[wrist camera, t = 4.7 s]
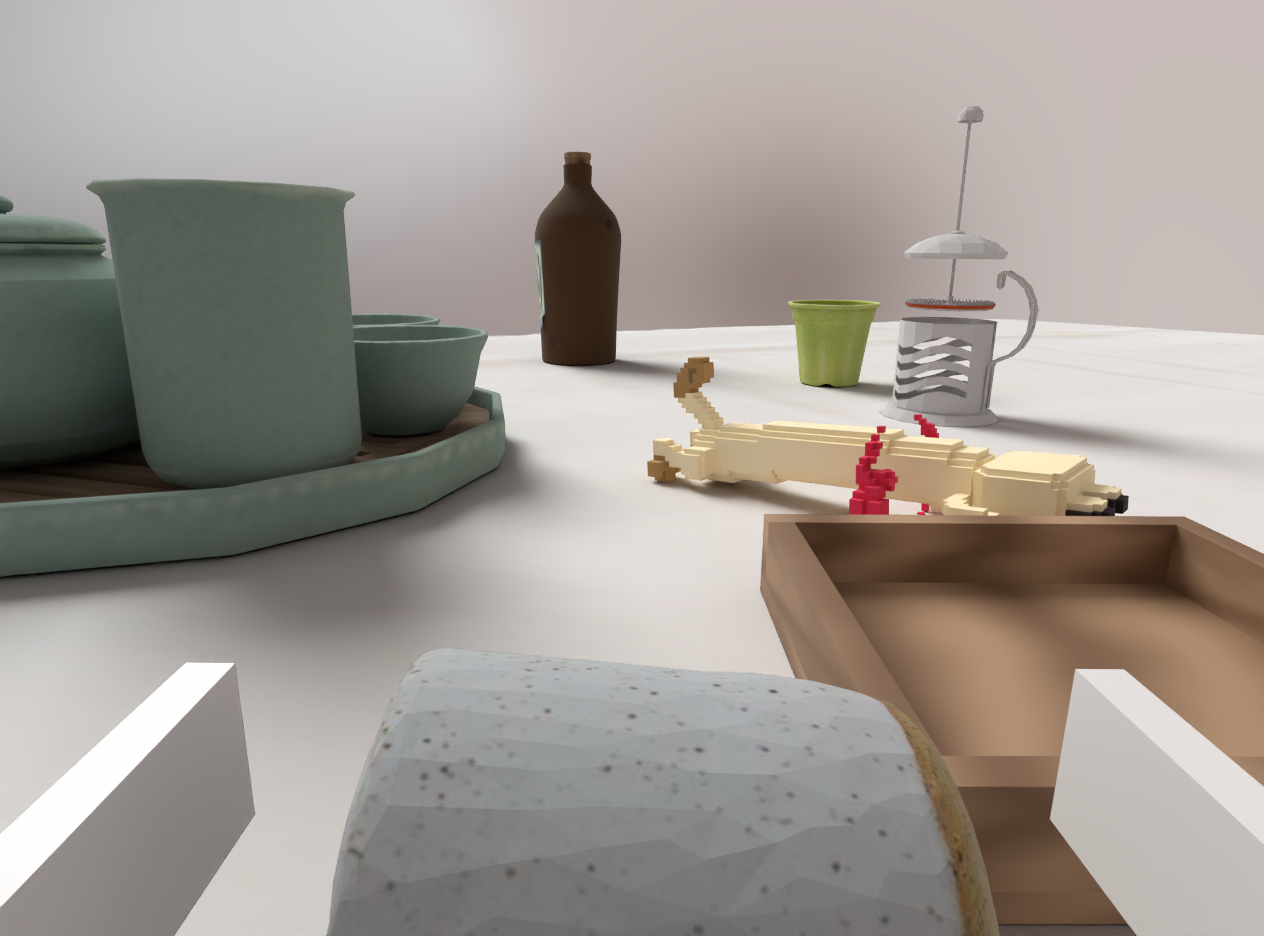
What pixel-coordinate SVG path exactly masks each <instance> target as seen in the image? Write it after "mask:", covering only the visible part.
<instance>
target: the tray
mask: <svg viewBox="0 0 1264 936" xmlns="http://www.w3.org/2000/svg"><path fill="white" fill-rule="evenodd" d="M760 591H761V593H762V596H763V598H764V601H765V603H766V606H767V608H768V611H769V613H770V616H771V618H772V621H773V623H774V626H775V628H776V630H777V633H778V635H779V638H780V640H781V643H782V645H783V648H784V650H785V653H786V655H787V658H788V660H789V663H790V665H791V668H792V670H793V673H794V675H795V678H796V679H803V680H810V681H816V682H819V683H823V684H827V685H831V686H835V687H839V688H843V689H847V690H851V691H855V692H858V693H861V694H864V695H868V696H870V697H873V698H876V699H879V700H882V701H884V702H887V703H890V704H893V705H894V706H895V707H897V708H898V709H899V710H900V711H901V712H902V713H904V714H905V715H906V716H907V717H908V718H910V719H911V720H912V721H913V722H914V723H915V724H916V726H917V727H918V728H919V729H920V731H921V732H922V733H923V735H924V736H925V737H926V738H927V740H928V741H929V742H930V743H931V745H932V746H933V747H934V749H935V750H936V751H937V752H938V754H939V755H940V756H941V758H942V759H943V760H944V761H945V764H946V766H947V768H948V770H949V772H950V774H951V776H952V778H953V780H954V782H955V784H956V786H957V788H958V790H959V793H960V795H961V798H962V800H963V802H964V805H965V807H966V810H967V812H968V814H969V817H970V819H971V822H972V825H973V828H974V831H975V834H976V838H977V841H978V844H979V848H980V851H981V854H982V858H983V861H984V864H985V868H986V872H987V876H988V881H989V886H990V890H991V895H992V899H993V904H994V908H995V913H996V918H997V922H998V924H1128V923H1127V922H1126V921H1125V919H1124V918H1123V917H1122V915H1121V914H1120V913H1119V911H1118V910H1117V909H1116V907H1115V906H1114V904H1113V903H1112V902H1111V900H1110V899H1109V898H1108V896H1107V895H1106V894H1105V892H1104V891H1103V890H1102V888H1101V887H1100V886H1099V884H1098V883H1097V882H1096V880H1095V879H1094V878H1093V876H1092V875H1091V874H1090V872H1089V871H1088V870H1087V868H1086V867H1085V866H1084V864H1083V863H1082V862H1081V860H1080V859H1079V857H1078V856H1077V855H1076V853H1075V852H1074V851H1073V849H1072V848H1071V847H1070V845H1069V844H1068V843H1067V841H1066V840H1065V839H1064V837H1063V836H1062V835H1061V833H1060V832H1059V831H1058V829H1057V828H1056V827H1055V825H1054V824H1053V823H1052V821H1051V820H1050V815H1051V809H1052V803H1053V797H1054V792H1055V786H1056V780H1057V774H1058V768H1059V762H1060V756H1061V750H1062V745H1063V739H1064V733H1065V727H1066V721H1067V715H1068V709H1069V704H1070V698H1071V692H1072V686H1073V680H1074V674H1075V669H1124V670H1125V671H1127V672H1128V673H1129V674H1130V675H1131V676H1133V677H1134V678H1135V679H1136V680H1137V681H1139V682H1140V683H1141V684H1142V685H1143V686H1144V687H1146V688H1147V689H1148V690H1149V691H1150V692H1152V693H1153V694H1154V695H1155V696H1156V697H1158V698H1159V699H1160V700H1161V701H1162V702H1164V703H1165V704H1166V705H1167V706H1168V707H1169V708H1171V709H1172V710H1173V711H1174V712H1175V713H1177V714H1178V715H1179V716H1180V717H1181V718H1183V719H1184V720H1185V721H1186V722H1187V723H1189V724H1190V725H1191V726H1192V727H1193V728H1194V729H1196V730H1197V731H1198V732H1199V733H1200V734H1202V735H1203V736H1204V737H1205V738H1206V739H1208V740H1209V741H1210V742H1211V743H1212V744H1214V745H1215V746H1216V747H1217V748H1218V749H1220V750H1221V751H1222V752H1223V753H1224V754H1225V755H1227V756H1228V757H1229V758H1230V759H1231V760H1233V761H1234V762H1235V763H1236V764H1237V765H1239V766H1240V767H1241V768H1242V769H1243V770H1245V771H1246V772H1247V773H1248V774H1249V775H1250V776H1252V777H1253V778H1254V779H1255V780H1256V781H1258V782H1259V783H1260V784H1261V785H1262V786H1264V554H1263V553H1260V552H1258V551H1256V550H1254V549H1252V548H1250V547H1248V546H1246V545H1243V544H1241V543H1239V542H1237V541H1235V540H1233V539H1231V538H1229V537H1226V536H1224V535H1222V534H1220V533H1218V532H1216V531H1214V530H1212V529H1209V528H1207V527H1205V526H1203V525H1201V524H1199V523H1197V522H1194V521H1192V520H1190V519H1188V518H1186V517H1144V516H987V515H829V514H764V531H763V549H762V567H761V585H760Z"/></svg>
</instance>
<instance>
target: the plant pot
mask: <svg viewBox="0 0 1264 936" xmlns="http://www.w3.org/2000/svg"><path fill="white" fill-rule="evenodd" d="M788 303H789V306H792V313H793V319H794V320H795V325H796V336H797V347H798V360H799V373H800V381H801V382H802V383H804V384H809V385H812V386H821V385H822V384H830V385H832V386H834V387H843V386H853V385H855V384H857V382H858V380H859V376H860V371H861V366H862V361H863V356H864V351H865V347H866V342H867V338H868V333H869V329H870V325H871V322H872V321H873V319H874V316H875V312H876V308H877V307H880V303H878V302H870V301H853V300H852V301H850V300H801V301H800V300H799V301H790V302H788Z"/></svg>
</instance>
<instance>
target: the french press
mask: <svg viewBox="0 0 1264 936" xmlns="http://www.w3.org/2000/svg"><path fill="white" fill-rule="evenodd" d="M982 120H983V111H982V109H981V108H980V107H978V106H968V107H966V108H964V109H963V110H962V111H961V112H959V116H958V122H959V123H968V131H967V140H966V148H965V157H964V167H963V175H962V185H961V193H960V203H959V211H958V220H957V229H956V231H953V232H951V233H950V234H945V235H941V236H936V237H931V238H929V239H926V240H924V241H921V242H919V243H917V244H915V245H914V246H913V247H911V248H910V249H908V250H907V251H905V252H904V255H905V257H906V258H927V259H928V258H929V259H953V265H952V274H951V284H950V293H949V296H948V297H947V299H946V301H944V299H942V300H940V299H938V301H937V299H934V300H933V299H932V298H931V299H910V300H907V301H906V302H905V303H906V305H907V306H908V307H910V308H915V309H924V310H942V311H987V310H991V309H993V308H994V306H995V303H994V302H991V301H980V302H979V301H978V300H976V302H975V300H973V302H971V300H969V302H967V300H966V301H965V302H964V301H963V299H962V301H960V300H958V301H956V299H955V300H954V301H953V296H952V289H953V281H954V271H955V263H956V259H1005V257H1006V256H1007V254H1008V252H1007V251H1005V250H1004V249H1003V248H1002V247H1001V246H1000V245H998V244H997V243H995V242H992V241H989V240H986V239H984V238H981V237H976V236H972V235H967V234H965V233H964V232H963V231H959V227H960V218H961V209H962V200H963V192H964V183H965V174H966V165H967V156H968V147H969V138H970V137H969V136H970V129H971V123H974V122H981V121H982ZM1007 275H1008V276H1010V277H1011V278H1013V279H1015V280H1016V281H1017V282H1018V283H1019V284H1020V285H1021V286H1022V287H1023V288H1024V289H1025V292H1026V295H1027V297H1028V300H1029V305H1030V317H1029V322H1028V328H1027V332H1026V334H1025V336H1024V337H1023V339H1022V341H1021V342H1020V344H1019V345H1018V347H1017V348H1016V349H1015V350H1013V351H1012V352H1011V353H1009V354H1008V355H1006V356H1003V357H1000V358H998V359H996V360H993V361H992V358H993V350H994V342H995V334H996V325H997V322H995V321H990V320H981V319H968V318H947V317H910V318H902V319H900V328H899V338H898V348H897V358H896V368H895V379H894V389H893V399H892V402H889V403H888V404H887V405H886V406H884V407H883V408H882V409H881V410H880V411H879V413H881V414H882V415H883V416H885V417H888V418H892V419H895V420H899V421H904V422H910V423H916V424H919V421H914V415H915V414H922V418H927V422H931V423H934V424H935V426H948V427H974V426H986V425H990V424H994V423H997V421H998V418H997V417H996V416H995V414H994V413H993V412H992V411H991V410H989V409H987V408H989V404H990V396H991V389H992V381H993V374H994V367H995V364H996V363H997V362H999V361H1002V360H1004V359H1007V358H1009V357H1012V356H1014V355H1015V354H1016V353H1018V352H1019V351H1020V350H1022V349H1023V348H1024V347H1025V345H1026V344H1027V343H1028V341H1029V340H1030V338H1031V336H1032V333H1033V331H1034V328H1035V324H1036V319H1037V314H1038V305H1037V300H1036V297H1035V294H1034V291H1033V289H1032V287H1031V285H1030V284H1029V283H1028V282H1027V281H1026V280H1025V279H1024V278H1022V277H1021V276H1019V275H1017V274H1016V273H1014V272H1013V271H1003V272H1001V273H1000V274H999V275H998V278H997V287H998V289H999V290H1000V289H1002V288H1003V287H1004V286H1005V281H1006V276H1007ZM1001 277H1002V283H1001ZM1000 285H1001V286H1000ZM1028 289H1029V290H1028ZM1029 291H1030V292H1029ZM1030 294H1031V295H1030ZM1031 296H1032V297H1031ZM1032 299H1033V300H1032ZM919 300H920V301H919ZM922 300H923V301H922ZM925 300H926V301H925ZM928 300H929V301H928ZM931 300H933V301H931ZM935 300H936V301H935ZM939 300H940V301H939ZM984 302H985V303H984ZM1033 303H1034V306H1033ZM917 307H918V308H917ZM1033 314H1034V316H1033ZM1032 322H1033V325H1032ZM943 337H951V338H956V340H954V341H951V342H948V343H946V344H943V345H940V346H933V347H929V348H926V349H924V350H920V349H916V348H913V346H915V345H917V344H920V343H923V342H929V341H934V340H938V339H940V338H943ZM962 346H972V350H971V352H969V351H967V350H965V349H962V348H958V347H962ZM942 353H946V354H951V355H950V356H947V357H945V358H942V359H939V360H937V361H934V362H928V363H923V364H918V363H914V362H913V361H916V360H918V359H921V358H923V357H926V356H932V355H936V354H942ZM963 360H969V361H970V367H966V366H963V365H961V364H958V363H953V362H955V361H963ZM938 369H946V371H944V372H941V373H938V374H935V375H931V376H926V377H921V378H917V377H912V376H915V375H917V374H920V373H923V372H926V371H929V370H938ZM962 374H963V375H965V376H968V382H967V381H960V380H958V379H953V378H948V377H949V376H952V375H962ZM940 384H942V386H939V387H936V388H933V389H928V390H923V391H918V392H917V391H914V390H916V389H919V388H922V387H925V386H931V385H940Z"/></svg>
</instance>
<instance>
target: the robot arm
mask: <svg viewBox="0 0 1264 936" xmlns="http://www.w3.org/2000/svg"><path fill="white" fill-rule="evenodd" d="M254 815H255V810H254V803H253V795H252V787H251V780H250V772H249V764H248V757H247V749H246V742H245V734H244V726H243V719H242V711H241V704H240V696H239V688H238V681H237V673H236V666H235V663H185V664H184V665H183V666H182V667H181V668H180V669H178V670H177V671H176V672H175V673H174V674H173V675H172V676H171V677H170V678H169V679H168V680H167V681H165V682H164V683H163V684H162V685H161V686H160V687H159V688H158V689H157V690H156V691H155V692H154V693H153V694H151V695H150V696H149V697H148V698H147V699H146V700H145V701H144V702H143V703H142V704H141V705H140V706H138V707H137V708H136V709H135V710H134V711H133V712H132V713H131V714H130V715H129V716H128V717H127V718H125V719H124V720H123V721H122V722H121V723H120V724H119V725H118V726H117V727H116V728H115V729H114V730H112V731H111V732H110V733H109V734H108V735H107V736H106V737H105V738H104V739H103V740H102V741H101V742H99V743H98V744H97V745H96V746H95V747H94V748H93V749H92V750H91V751H90V752H89V753H88V754H86V755H85V756H84V757H83V758H82V759H81V760H80V761H79V762H78V763H77V764H76V765H75V766H73V767H72V768H71V769H70V770H69V771H68V772H67V773H66V774H65V775H64V776H63V777H62V778H60V779H59V780H58V781H57V782H56V783H55V784H54V785H53V786H52V787H51V788H50V789H49V790H47V791H46V792H45V793H44V794H43V795H42V796H41V797H40V798H39V799H38V800H37V801H36V802H35V803H33V804H32V805H31V806H30V807H29V808H28V809H27V810H26V811H25V812H24V813H23V814H22V815H20V816H19V817H18V818H17V819H16V820H15V821H14V822H13V823H12V824H11V825H10V826H9V827H7V828H6V829H5V830H4V831H3V832H2V833H1V834H0V936H174V935H175V934H176V932H177V931H178V929H179V928H180V926H181V925H182V923H183V922H184V920H185V919H186V917H187V916H188V914H189V913H190V911H191V910H192V908H193V907H194V905H195V904H196V902H197V901H198V899H199V898H200V896H201V895H202V893H203V892H204V890H205V889H206V887H207V886H208V884H209V883H210V881H211V880H212V878H213V877H214V875H215V874H216V872H217V871H218V869H219V868H220V866H221V865H222V863H223V862H224V860H225V859H226V857H227V856H228V854H229V853H230V851H231V850H232V848H233V847H234V845H235V844H236V842H237V841H238V839H239V838H240V836H241V835H242V833H243V832H244V830H245V829H246V827H247V826H248V824H249V823H250V821H251V820H252V818H253V817H254ZM1050 820H1051V821H1052V823H1053V824H1054V825H1055V827H1056V828H1057V829H1058V831H1059V832H1060V833H1061V835H1062V836H1063V837H1064V839H1065V840H1066V841H1067V843H1068V844H1069V845H1070V847H1071V848H1072V849H1073V851H1074V852H1075V853H1076V855H1077V856H1078V857H1079V859H1080V860H1081V862H1082V863H1083V864H1084V866H1085V867H1086V868H1087V870H1088V871H1089V872H1090V874H1091V875H1092V876H1093V878H1094V879H1095V880H1096V882H1097V883H1098V884H1099V886H1100V887H1101V888H1102V890H1103V891H1104V892H1105V894H1106V895H1107V896H1108V898H1109V899H1110V900H1111V902H1112V903H1113V904H1114V906H1115V907H1116V909H1117V910H1118V911H1119V913H1120V914H1121V915H1122V917H1123V918H1124V919H1125V921H1126V922H1127V923H1128V925H1129V926H1130V927H1131V929H1132V930H1133V931H1134V933H1135V934H1136V935H1137V936H1264V786H1262V785H1261V784H1260V783H1259V782H1258V781H1256V780H1255V779H1254V778H1253V777H1252V776H1250V775H1249V774H1248V773H1247V772H1246V771H1245V770H1243V769H1242V768H1241V767H1240V766H1239V765H1237V764H1236V763H1235V762H1234V761H1233V760H1231V759H1230V758H1229V757H1228V756H1227V755H1225V754H1224V753H1223V752H1222V751H1221V750H1220V749H1218V748H1217V747H1216V746H1215V745H1214V744H1212V743H1211V742H1210V741H1209V740H1208V739H1206V738H1205V737H1204V736H1203V735H1202V734H1200V733H1199V732H1198V731H1197V730H1196V729H1194V728H1193V727H1192V726H1191V725H1190V724H1189V723H1187V722H1186V721H1185V720H1184V719H1183V718H1181V717H1180V716H1179V715H1178V714H1177V713H1175V712H1174V711H1173V710H1172V709H1171V708H1169V707H1168V706H1167V705H1166V704H1165V703H1164V702H1162V701H1161V700H1160V699H1159V698H1158V697H1156V696H1155V695H1154V694H1153V693H1152V692H1150V691H1149V690H1148V689H1147V688H1146V687H1144V686H1143V685H1142V684H1141V683H1140V682H1139V681H1137V680H1136V679H1135V678H1134V677H1133V676H1131V675H1130V674H1129V673H1128V672H1127V671H1125V670H1124V669H1075V674H1074V680H1073V686H1072V692H1071V698H1070V704H1069V709H1068V715H1067V721H1066V727H1065V733H1064V739H1063V745H1062V750H1061V756H1060V762H1059V768H1058V774H1057V780H1056V786H1055V792H1054V797H1053V803H1052V809H1051V815H1050Z"/></svg>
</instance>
